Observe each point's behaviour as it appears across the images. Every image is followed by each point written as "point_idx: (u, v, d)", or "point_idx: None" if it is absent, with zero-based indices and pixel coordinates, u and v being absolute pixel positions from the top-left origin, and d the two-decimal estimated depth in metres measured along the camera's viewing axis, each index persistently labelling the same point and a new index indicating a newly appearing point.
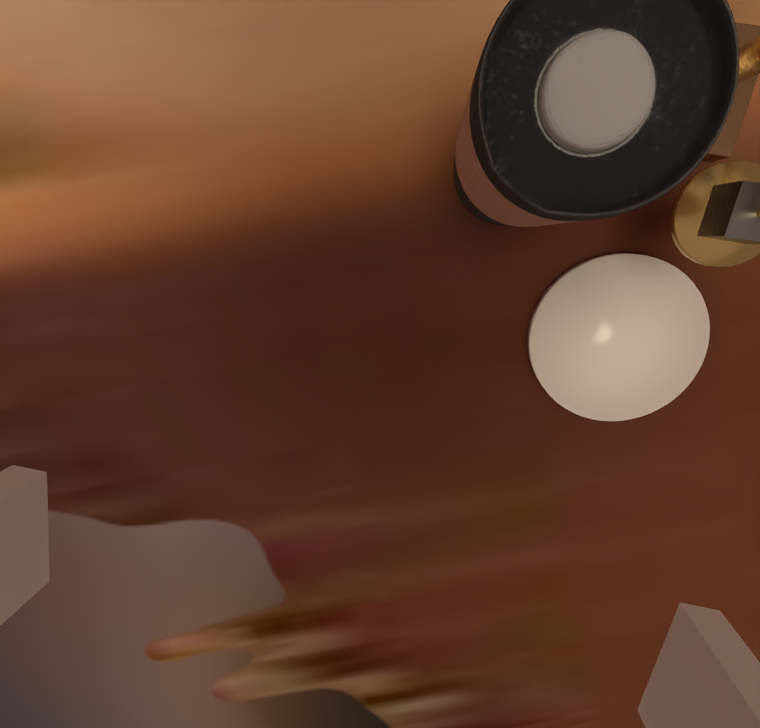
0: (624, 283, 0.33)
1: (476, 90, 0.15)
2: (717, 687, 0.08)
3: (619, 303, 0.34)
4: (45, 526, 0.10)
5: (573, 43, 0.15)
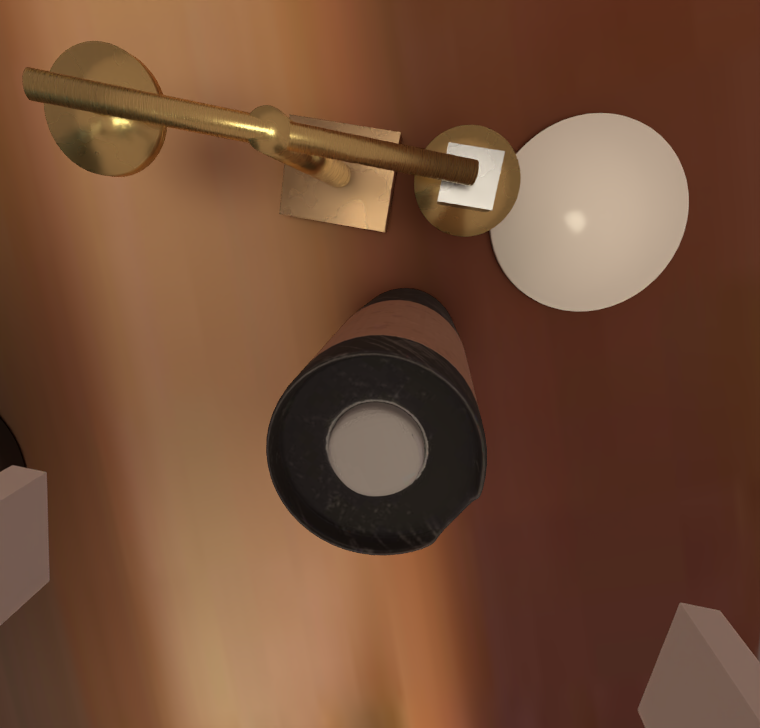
0: (522, 218, 0.31)
1: (373, 554, 0.17)
2: (716, 686, 0.08)
3: (543, 220, 0.31)
4: (46, 526, 0.10)
5: (337, 476, 0.17)
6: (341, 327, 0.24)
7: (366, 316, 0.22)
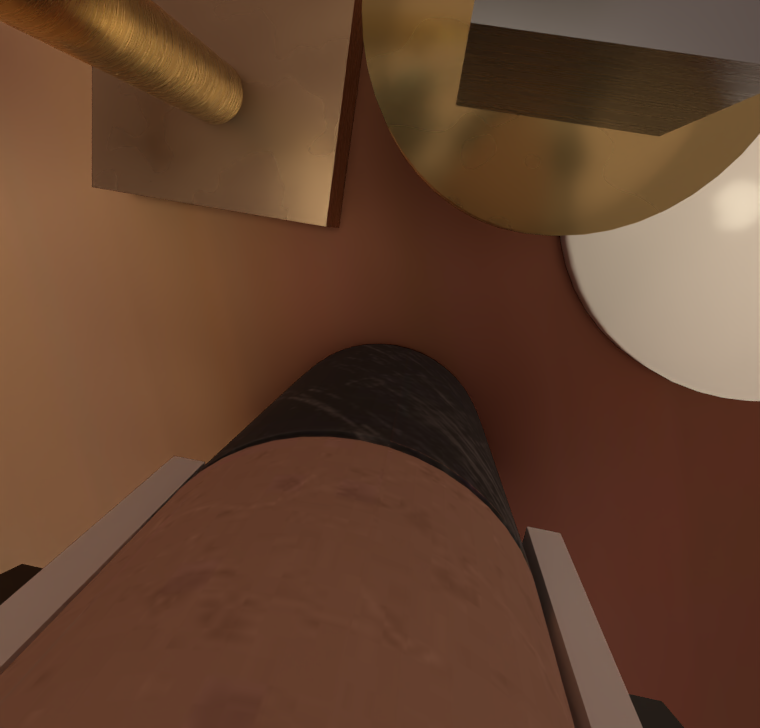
0: None
1: None
2: (535, 585, 0.10)
3: (693, 199, 0.14)
4: None
5: None
6: (70, 604, 0.06)
7: (103, 644, 0.04)
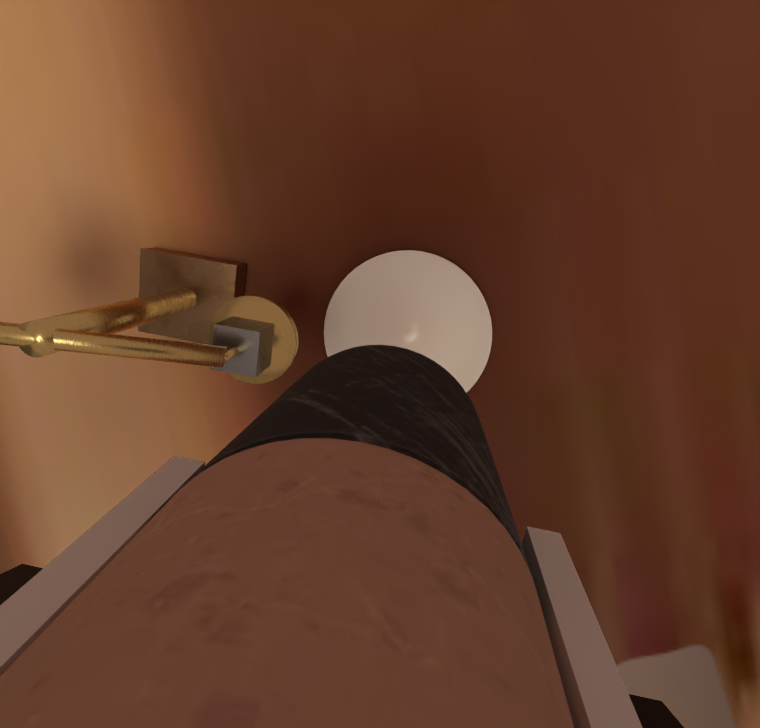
0: (350, 336, 0.35)
1: None
2: (536, 585, 0.10)
3: (369, 339, 0.35)
4: None
5: None
6: (68, 607, 0.06)
7: (101, 647, 0.04)
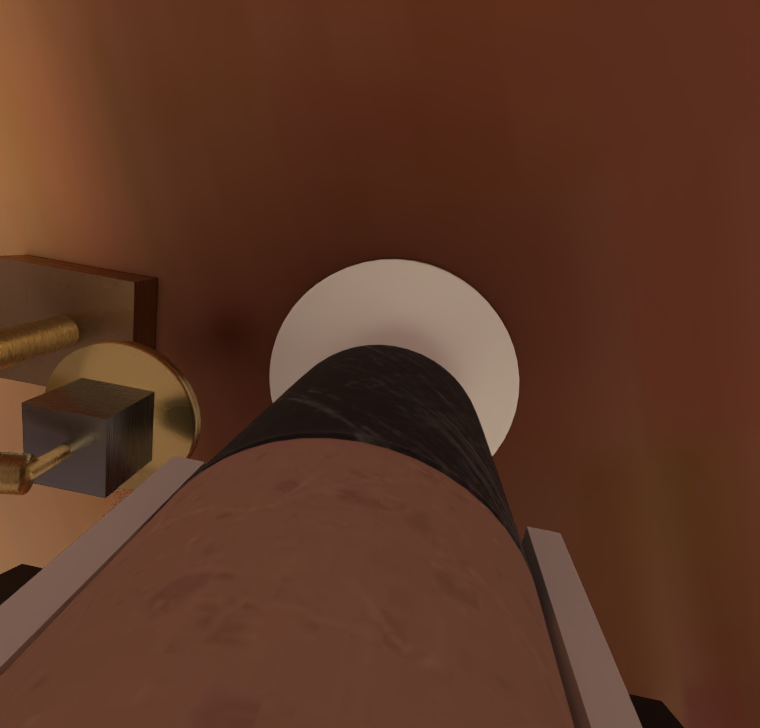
0: None
1: None
2: (535, 585, 0.10)
3: None
4: None
5: None
6: (68, 607, 0.06)
7: (101, 647, 0.04)
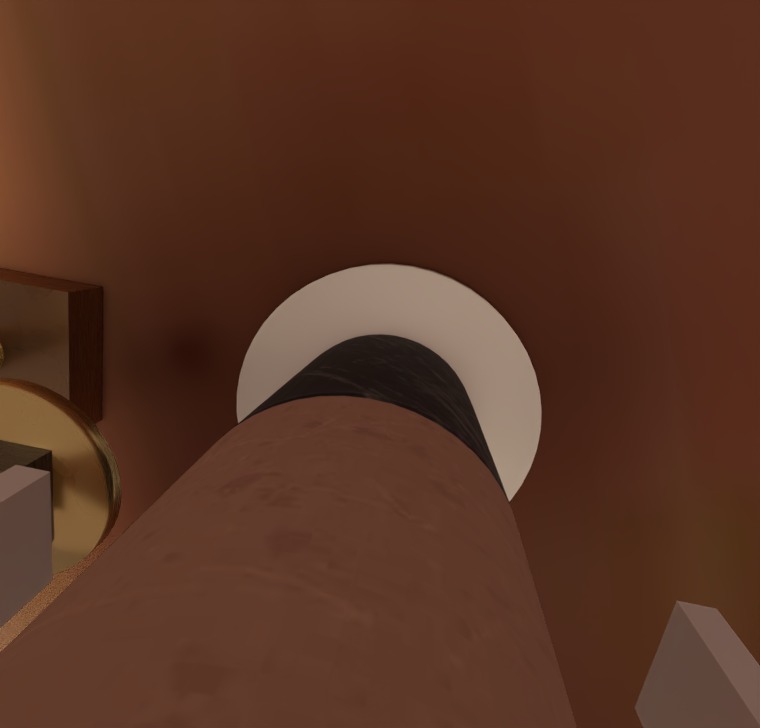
0: None
1: None
2: (712, 684, 0.08)
3: None
4: (49, 526, 0.11)
5: None
6: (145, 512, 0.07)
7: (190, 514, 0.06)
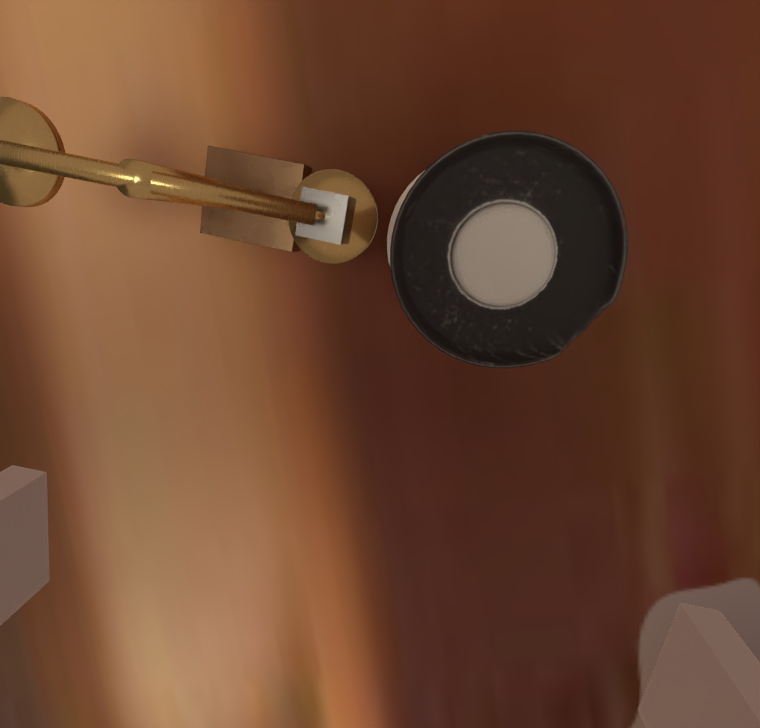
0: None
1: (494, 367, 0.17)
2: (716, 686, 0.08)
3: None
4: (45, 526, 0.10)
5: (461, 282, 0.16)
6: None
7: None
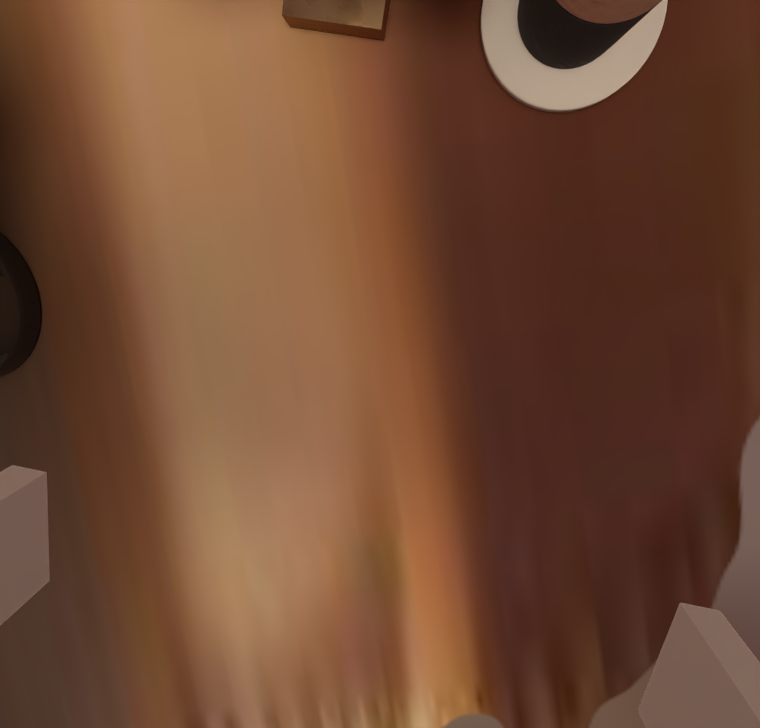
0: (511, 13, 0.33)
1: None
2: (716, 686, 0.08)
3: None
4: (45, 526, 0.10)
5: None
6: None
7: None
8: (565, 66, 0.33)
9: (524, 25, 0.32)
